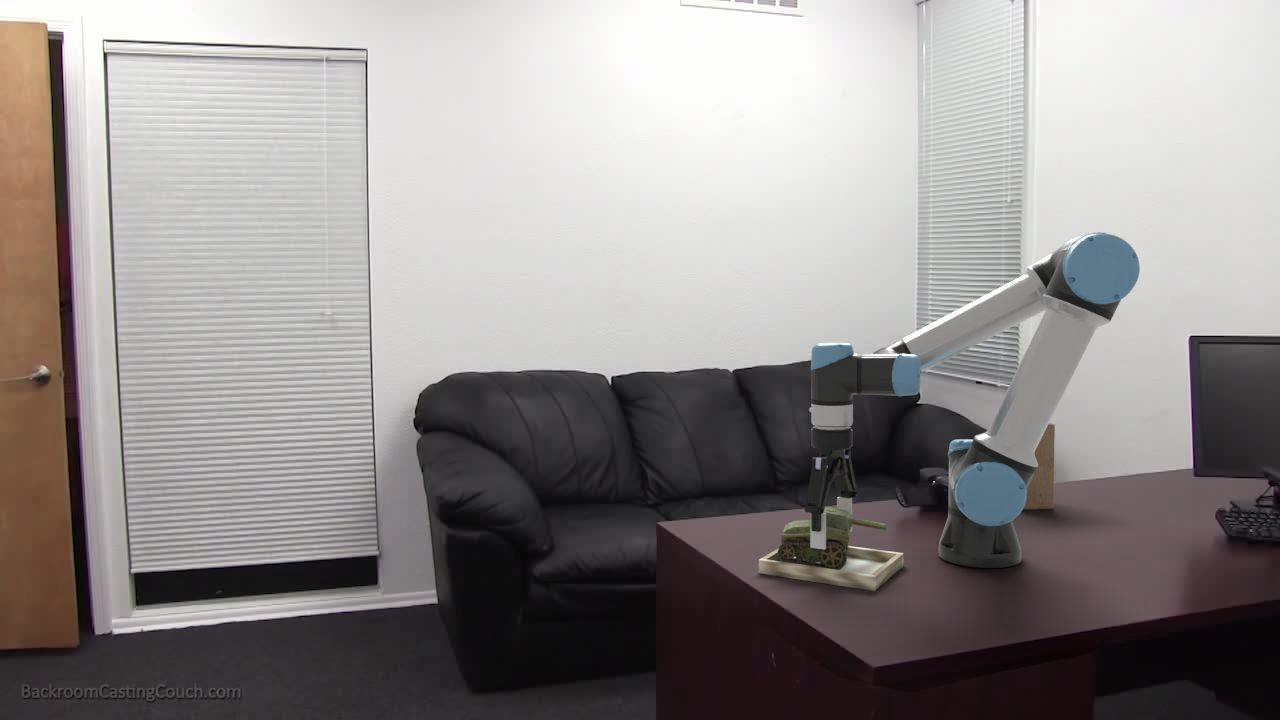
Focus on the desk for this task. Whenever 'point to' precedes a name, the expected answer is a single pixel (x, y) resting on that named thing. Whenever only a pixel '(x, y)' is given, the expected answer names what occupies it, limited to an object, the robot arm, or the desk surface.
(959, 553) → the robot arm
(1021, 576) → the desk surface
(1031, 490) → the wooden block
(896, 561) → the beige tray
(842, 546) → the toy
